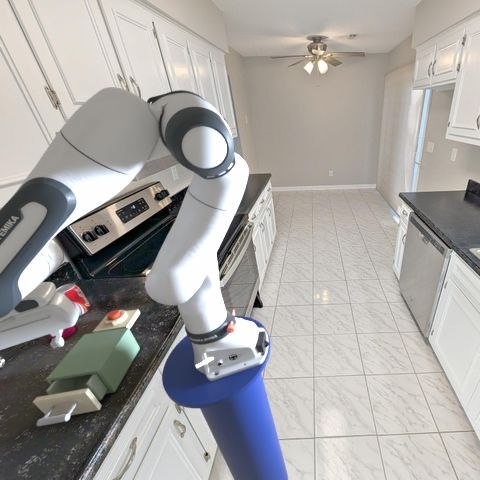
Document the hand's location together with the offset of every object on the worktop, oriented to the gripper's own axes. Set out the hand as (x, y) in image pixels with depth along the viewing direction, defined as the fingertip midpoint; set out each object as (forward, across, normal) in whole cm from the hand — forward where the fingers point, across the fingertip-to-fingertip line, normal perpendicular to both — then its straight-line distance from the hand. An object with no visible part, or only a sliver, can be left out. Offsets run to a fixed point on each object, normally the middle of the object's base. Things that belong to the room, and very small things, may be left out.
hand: (30, 355), depth 54 cm
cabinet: (+23, +3, +13) cm, 26 cm away
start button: (+19, +5, +35) cm, 40 cm away
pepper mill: (+24, -12, +40) cm, 48 cm away
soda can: (+24, -10, +52) cm, 58 cm away
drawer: (+22, 0, +5) cm, 23 cm away
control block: (+23, +5, +35) cm, 42 cm away
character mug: (+23, +21, +42) cm, 52 cm away
